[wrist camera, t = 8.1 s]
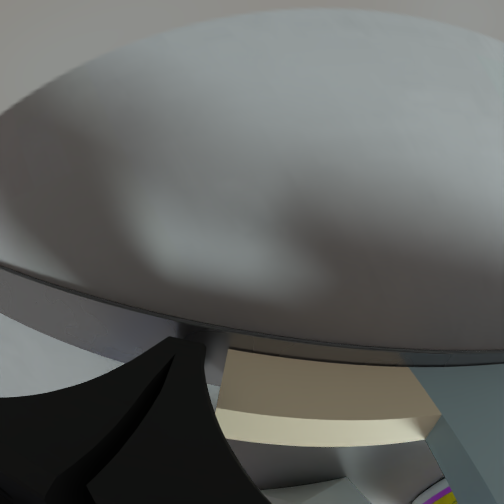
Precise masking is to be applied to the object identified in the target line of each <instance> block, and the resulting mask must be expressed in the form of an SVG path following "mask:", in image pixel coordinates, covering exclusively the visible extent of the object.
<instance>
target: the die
mask: <svg viewBox="0 0 504 504" xmlns="http://www.w3.org/2000/svg"><path fill="white" fill-rule="evenodd" d="M260 491H261V492H262V493H263V495H264V496H265V497H266V498H267V499H268V500H269V501H270V502H271V503H272V504H371V503H370V501H369V500H368V499H367V498H366V497H365V496H364V495H363V494H362V493H361V492H360V491H359V490H358V489H357V488H356V487H355V486H354V485H353V484H352V483H351V482H350V480H349V479H348V478H347V477H345V478H340V479H335V480H331V481H326V482H320V483H314V484H308V485H302V486H295V487H287V488H277V489H266V490H260Z"/></svg>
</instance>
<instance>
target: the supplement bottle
mask: <svg viewBox="0 0 504 504" xmlns="http://www.w3.org/2000/svg"><path fill="white" fill-rule="evenodd" d="M412 504H458V502H457V500H456V498H455V496H454V494H453V492H452V490H451V488H450V486H449V484H448V482H447V480H446V478H444V479H443V480H441V481H439V482H438V483H436V484H434V485H433V486H431V487H430V488H429V489H427V490H426V491H424V492H423V493H422V494H420V495H419V496H418V497H417V498H416V499H415V500H414V501H413V502H412Z"/></svg>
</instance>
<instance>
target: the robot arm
mask: <svg viewBox="0 0 504 504" xmlns="http://www.w3.org/2000/svg"><path fill="white" fill-rule="evenodd" d="M205 355H206V346H205V345H204V344H203V343H199V342H194V341H189V340H185V339H180V338H176V337H171V336H169V337H167V338H165V339H164V340H162V341H161V342H159V343H158V344H156V345H155V346H153V347H151V348H150V349H148V350H147V351H145V352H144V353H142V354H141V355H139V356H137V357H136V358H134V359H132V360H131V361H129V362H127V363H125V364H124V365H122V366H120V367H118V368H116V369H114V370H112V371H110V372H108V373H106V374H104V375H102V376H99V377H97V378H95V379H92V380H89V381H87V382H84V383H81V384H78V385H75V386H71V387H68V388H64V389H60V390H56V391H52V392H48V393H43V394H37V395H30V396H21V397H9V398H0V504H272V503H271V502H270V501H269V500H268V499H267V498H266V497H265V496H264V495H263V493H262V492H261V491H260V490H259V489H258V487H257V486H256V485H255V484H254V482H253V481H252V480H251V478H250V477H249V476H248V474H247V473H246V471H245V470H244V469H243V467H242V466H241V464H240V462H239V461H238V459H237V457H236V456H235V454H234V452H233V451H232V449H231V447H230V445H229V444H228V442H227V440H226V438H225V436H224V434H223V432H222V430H221V427H220V425H219V423H218V420H217V418H216V415H215V412H214V409H213V406H212V403H211V400H210V396H209V392H208V388H207V383H206V377H205V370H204V363H205Z"/></svg>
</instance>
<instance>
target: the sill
mask: <svg viewBox="0 0 504 504" xmlns="http://www.w3.org/2000/svg"><path fill="white" fill-rule="evenodd" d="M0 313H2V314H4V315H5V316H7V317H9V318H11V319H14V320H16V321H18V322H20V323H22V324H24V325H26V326H28V327H30V328H33V329H35V330H37V331H39V332H42V333H44V334H46V335H49V336H51V337H53V338H56V339H58V340H61V341H63V342H66V343H68V344H71V345H73V346H76V347H79V348H81V349H84V350H87V351H90V352H93V353H95V354H98V355H101V356H104V357H107V358H110V359H113V360H117V361H120V362H123V363H127V362H129V361H131V360H132V359H134V358H136V357H137V356H139V355H141V354H142V353H144V352H145V351H147V350H148V349H150V348H151V347H153V346H155V345H156V344H158V343H159V342H161V341H162V340H164V339H165V338H167V337H169V336H171V337H176V338H180V339H185V340H189V341H194V342H199V343H203V344H204V345H205V346H206V355H205V363H204V370H205V377H206V383H207V384H211V385H216V386H221V382H222V377H223V372H224V367H225V362H226V357H227V352H228V349H232V350H237V351H243V352H249V353H256V354H262V355H269V356H276V357H283V358H291V359H299V360H308V361H317V362H327V363H339V364H351V365H367V366H388V367H460V366H480V365H494V364H504V350H485V351H448V350H416V349H397V348H382V347H369V346H358V345H347V344H337V343H328V342H320V341H311V340H304V339H296V338H289V337H282V336H275V335H268V334H262V333H256V332H250V331H244V330H238V329H233V328H227V327H222V326H216V325H211V324H206V323H201V322H196V321H191V320H187V319H182V318H177V317H173V316H168V315H164V314H160V313H155V312H151V311H147V310H143V309H139V308H135V307H131V306H127V305H123V304H119V303H116V302H112V301H108V300H104V299H101V298H97V297H94V296H90V295H87V294H83V293H80V292H77V291H73V290H70V289H67V288H64V287H61V286H57V285H54V284H51V283H48V282H45V281H42V280H39V279H36V278H33V277H30V276H27V275H25V274H22V273H19V272H16V271H13V270H11V269H8V268H5V267H3V266H0Z"/></svg>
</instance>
